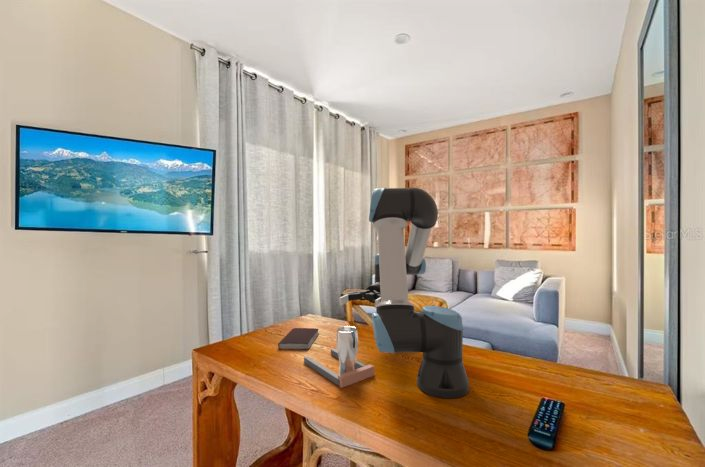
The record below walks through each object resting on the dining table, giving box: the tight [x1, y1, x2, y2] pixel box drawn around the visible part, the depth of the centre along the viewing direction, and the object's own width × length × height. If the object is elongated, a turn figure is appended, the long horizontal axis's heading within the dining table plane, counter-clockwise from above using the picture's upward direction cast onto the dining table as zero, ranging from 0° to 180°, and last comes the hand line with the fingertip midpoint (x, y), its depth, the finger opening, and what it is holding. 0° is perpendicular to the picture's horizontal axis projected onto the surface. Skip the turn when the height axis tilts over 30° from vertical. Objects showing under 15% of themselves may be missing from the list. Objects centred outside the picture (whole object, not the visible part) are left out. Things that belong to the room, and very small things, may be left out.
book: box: [277, 327, 320, 351], centre depth 137 cm, size 12×19×3 cm, turn 173°
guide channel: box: [303, 348, 375, 389], centre depth 110 cm, size 23×13×3 cm, turn 38°
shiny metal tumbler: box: [336, 325, 359, 375], centre depth 105 cm, size 7×7×15 cm
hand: (357, 302), depth 114 cm, fingers open, 13 cm apart
